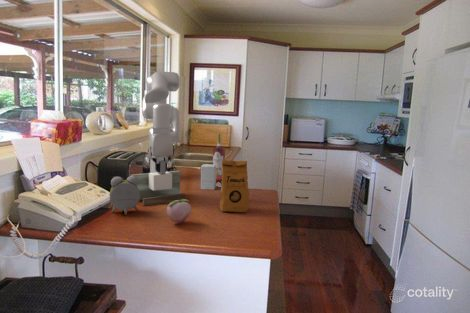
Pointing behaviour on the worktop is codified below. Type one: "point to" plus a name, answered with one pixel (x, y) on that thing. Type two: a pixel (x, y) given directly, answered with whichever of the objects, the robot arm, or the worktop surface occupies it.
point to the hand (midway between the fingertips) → (161, 171)
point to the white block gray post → (160, 178)
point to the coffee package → (234, 187)
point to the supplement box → (208, 176)
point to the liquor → (218, 158)
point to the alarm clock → (124, 193)
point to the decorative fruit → (179, 210)
